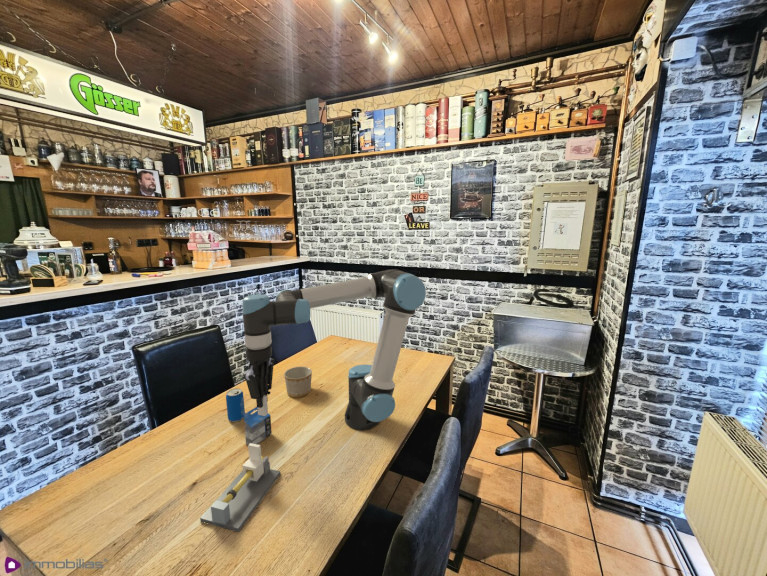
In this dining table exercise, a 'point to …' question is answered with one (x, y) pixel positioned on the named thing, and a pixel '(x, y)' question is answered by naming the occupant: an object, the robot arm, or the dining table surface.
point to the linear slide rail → (240, 499)
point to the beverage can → (235, 405)
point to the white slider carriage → (254, 462)
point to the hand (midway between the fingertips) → (262, 414)
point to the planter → (298, 381)
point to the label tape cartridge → (256, 427)
